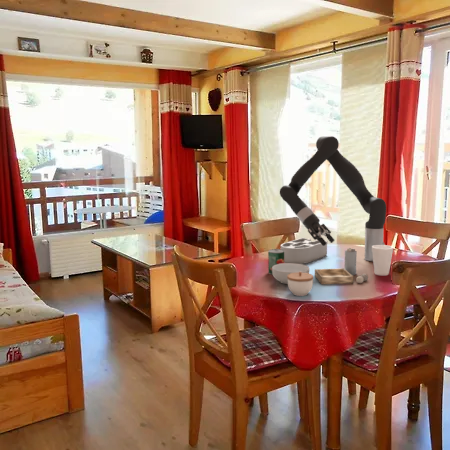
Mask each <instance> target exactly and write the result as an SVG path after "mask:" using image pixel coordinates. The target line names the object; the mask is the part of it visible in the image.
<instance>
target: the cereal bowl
mask: <svg viewBox="0 0 450 450" xmlns="http://www.w3.org/2000/svg"><path fill="white" fill-rule="evenodd" d="M297 272H302V273H309V274H310V267H309V266H308V265H305V264H294V263H285V262H284V263H283V264H277V265H274V266H273V267H272V274H273V275H272V274H271V275H272V276H273V277H274V279H276V280H277V281H278V282H280V283H281V284H284V285H288V278H287V275H288V274H291V273H297Z"/></svg>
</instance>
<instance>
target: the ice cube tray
mask: <svg viewBox="0 0 450 450" xmlns="http://www.w3.org/2000/svg"><path fill="white" fill-rule="evenodd" d="M325 241H326V243H327V244H326V245H325V246H323V245H322V244H321V243H320V242H319V240H317V239H316V240H312V239H311V238H306V237H300V238H297V239H294V240H290V241H287V242H284V243H281V244H280V249H281V250H284V251H285V252H284V263H294V264H302V265H305V264H309V263H310V262H314V261H316V260H319V259H322V258H324V257H327V256H328V241H329V240H325Z"/></svg>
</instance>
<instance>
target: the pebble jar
mask: <svg viewBox="0 0 450 450" xmlns="http://www.w3.org/2000/svg"><path fill="white" fill-rule="evenodd" d="M344 269H345V270H347V271H348V272H349V273H350V274H351V275H352V276H356V275H357V250H356V249H355V248H351V247H348V248H347V249H346V250H344Z"/></svg>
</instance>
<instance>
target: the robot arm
mask: <svg viewBox="0 0 450 450" xmlns="http://www.w3.org/2000/svg"><path fill="white" fill-rule="evenodd" d="M315 143H316V144H315V146H316V150H317V151H316V152H315V153H314V154H313V155H312V157H310V158H309V159H308V160H307V161H305V163H303V164H302V165H301V166H300V168H299V169H297V170H296V172H294V174H293V175H292V177H291V179H290V182H289V183H288V185H287V184H286V185H283V186H281V187H280V189H279V195H280V196H279V197H280V198H281V199H282V200H283V201H285V203H286V204H287V205H288V206H289V207H290V209H291V211H292V212H293V213H294V214H295V216H297V218H298V220H299V221H300V222H301V223H302V225H303V226H304V227H305V228H306V229H307V232H308V233H309V235H310V236H311V238H312V239H313V241H316V240H319V242H320V243H321V244H322V245H323V246H325V245H326V244H327V245H328V242H327V243H326V241H329V243H334V242H335V238H334V237H333V236H332V235H331V233H332V231H331V230H330V229H329V228H328V227H327V226H326V225H325V223H322V224H320V218H319V217H318V216H317V215H316V214H315V212H314V211H313V210H312V209H311V208H310V207H309V206H308V205H307V204H306V203H305V202H304V201H303V199H301V198H300V196H299V195H298V194H299V193H300V191H301V189H302V187H304V185H305V184H306V183H307V182H308V181H309V179H310V178H311V177H312V176H313V174H314V173H315V172H316V171H317V170H318V169H319V168H320V166H322V164H323V163H325V162H326V161H327V162H328V163H329V164H330V165H331V166H332V168H333V169H334V171H335V172H336V174H337V175H338V177H339V179H341V181H342V182H343V184H345V185H346V187H347V188H348V189H349V190H350V192H351V193H352V194H353V195H354V196H355V198H356V199H357V200H358V202H359V204H360V205H361V207H362V209H363V210H364V212H366V213H367V214H368V215H369V217H368V218H369V219H368V220H367V221H365V224H364V225H365V227H364V229H365V231H364V261H368V262H369V261H370V262H373V254H372V246H374V245H385V242H384V229H385V228H384V227H385V223H386V220H387V219H386V218H387V204H386V201H385V200H384V199H383V198H380V197H376V196H374V195H372V193H371V192H370V191H369V190H368V187H366V184H365V180H364V177H363V175H362V174H361V172H360V171H359V170H358V168H357V167H356V166H355V165H354V164H353V163H352V162H351V161H350V160H348V159H347V158H346V157H344V155H342V154H341V152H340V151H339V150H338V149H339V145H340V143H339V140H338V139H337V138H336V137H335V136H333V135H322V136H320V137H318V138H317V140H316V142H315ZM322 236H324V237H325V238H326V239H327V240H325V239H324V237H322Z"/></svg>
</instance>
